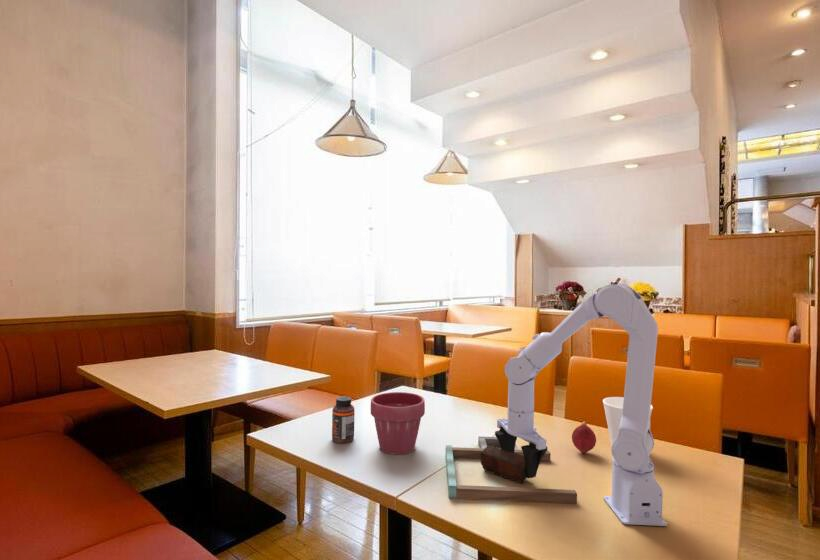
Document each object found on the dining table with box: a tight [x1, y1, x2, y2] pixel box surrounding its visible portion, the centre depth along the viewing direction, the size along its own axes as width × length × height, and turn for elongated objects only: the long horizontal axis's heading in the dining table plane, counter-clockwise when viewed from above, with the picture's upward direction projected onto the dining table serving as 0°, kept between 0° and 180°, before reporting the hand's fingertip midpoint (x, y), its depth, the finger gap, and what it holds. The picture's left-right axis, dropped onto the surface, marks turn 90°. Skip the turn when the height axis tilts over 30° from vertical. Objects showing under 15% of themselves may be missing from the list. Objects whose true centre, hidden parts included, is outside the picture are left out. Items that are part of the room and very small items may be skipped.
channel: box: [445, 435, 578, 504], centre depth 102 cm, size 29×26×2 cm
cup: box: [602, 396, 654, 446], centre depth 114 cm, size 12×12×12 cm
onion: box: [571, 421, 597, 454], centre depth 112 cm, size 6×6×8 cm
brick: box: [480, 445, 528, 484], centre depth 98 cm, size 11×4×5 cm, turn 50°
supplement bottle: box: [331, 395, 355, 444], centre depth 118 cm, size 6×6×11 cm
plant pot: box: [370, 391, 426, 455], centre depth 113 cm, size 14×14×13 cm
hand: (519, 469), depth 98 cm, fingers open, 7 cm apart
